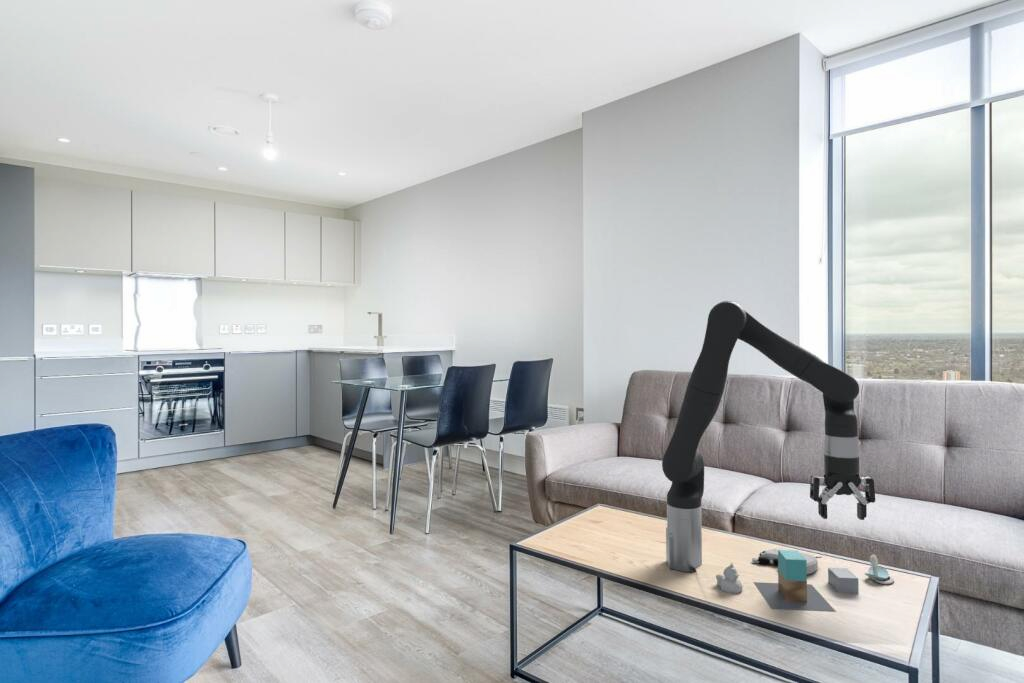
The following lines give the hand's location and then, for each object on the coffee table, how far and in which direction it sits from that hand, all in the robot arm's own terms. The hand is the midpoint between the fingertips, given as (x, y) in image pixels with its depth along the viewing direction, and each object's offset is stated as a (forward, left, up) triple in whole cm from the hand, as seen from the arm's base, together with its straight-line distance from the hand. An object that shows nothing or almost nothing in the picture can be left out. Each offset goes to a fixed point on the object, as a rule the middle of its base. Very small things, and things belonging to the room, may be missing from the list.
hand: (842, 518), depth 140 cm
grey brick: (0, 0, -19) cm, 19 cm away
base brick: (-14, -6, -17) cm, 23 cm away
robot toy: (-9, +13, -19) cm, 25 cm away
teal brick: (-14, -6, -12) cm, 19 cm away
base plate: (-14, -6, -18) cm, 24 cm away
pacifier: (+13, +9, -19) cm, 24 cm away
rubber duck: (-28, -3, -19) cm, 34 cm away
